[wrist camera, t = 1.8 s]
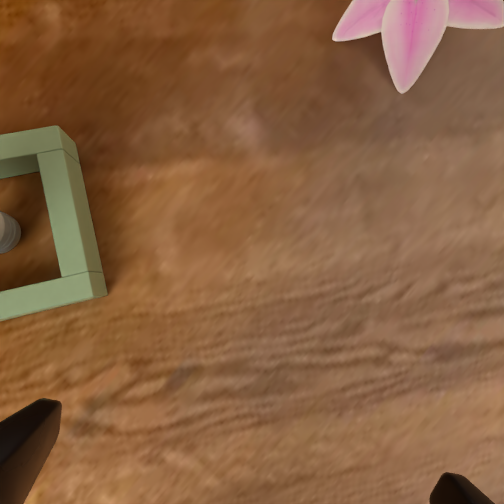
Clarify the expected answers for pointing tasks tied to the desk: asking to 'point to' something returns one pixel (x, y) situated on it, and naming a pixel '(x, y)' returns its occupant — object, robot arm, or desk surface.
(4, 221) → the lightbulb
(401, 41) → the lily
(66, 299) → the frame
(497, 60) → the desk surface
